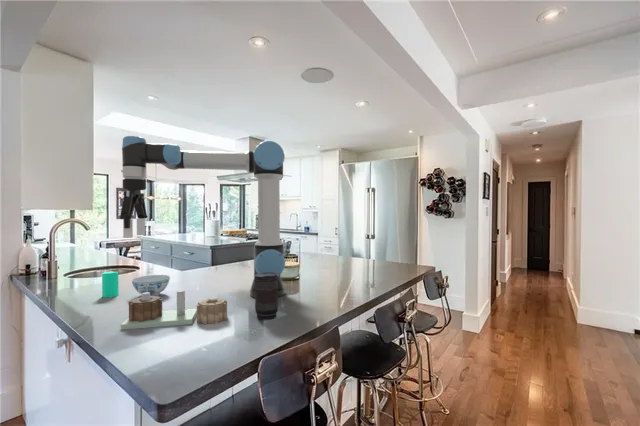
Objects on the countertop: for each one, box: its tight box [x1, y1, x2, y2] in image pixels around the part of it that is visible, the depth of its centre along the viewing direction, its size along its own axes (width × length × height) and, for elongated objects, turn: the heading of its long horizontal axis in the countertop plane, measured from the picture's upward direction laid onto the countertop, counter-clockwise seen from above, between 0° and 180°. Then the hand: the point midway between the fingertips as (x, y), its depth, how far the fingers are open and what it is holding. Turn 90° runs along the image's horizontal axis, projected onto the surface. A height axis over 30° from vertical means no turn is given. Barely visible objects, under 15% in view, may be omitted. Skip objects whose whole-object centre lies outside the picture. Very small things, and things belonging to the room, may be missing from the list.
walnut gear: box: [128, 296, 163, 322], centre depth 106 cm, size 10×10×6 cm
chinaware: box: [131, 274, 171, 297], centre depth 141 cm, size 15×15×8 cm
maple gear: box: [196, 297, 228, 325], centre depth 109 cm, size 10×10×6 cm
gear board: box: [120, 290, 197, 330], centre depth 107 cm, size 21×12×10 cm, turn 103°
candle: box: [101, 268, 119, 299], centre depth 140 cm, size 6×6×12 cm
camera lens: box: [253, 272, 279, 321], centre depth 111 cm, size 8×8×15 cm
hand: (134, 236), depth 117 cm, fingers open, 13 cm apart
